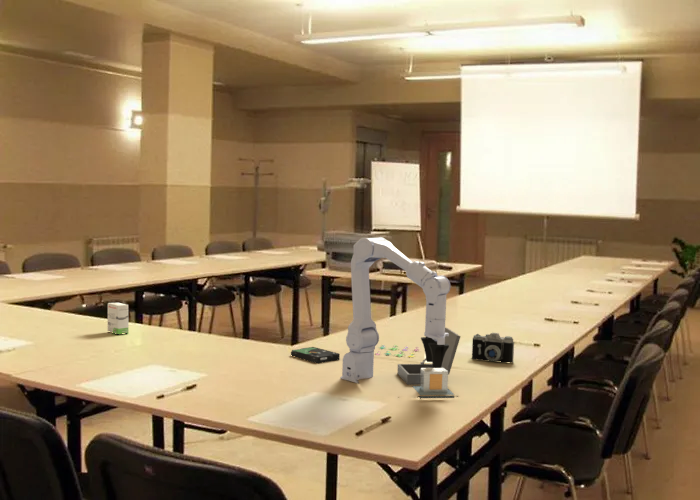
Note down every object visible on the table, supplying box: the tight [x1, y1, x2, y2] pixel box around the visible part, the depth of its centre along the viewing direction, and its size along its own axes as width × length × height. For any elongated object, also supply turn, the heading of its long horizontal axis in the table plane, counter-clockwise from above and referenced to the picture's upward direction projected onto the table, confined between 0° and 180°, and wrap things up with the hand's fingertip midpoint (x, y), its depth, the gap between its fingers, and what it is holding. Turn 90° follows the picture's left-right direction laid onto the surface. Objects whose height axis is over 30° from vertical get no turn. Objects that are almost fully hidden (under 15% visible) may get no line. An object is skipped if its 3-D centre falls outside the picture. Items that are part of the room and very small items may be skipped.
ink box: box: [107, 302, 129, 334], centre depth 300 cm, size 9×5×12 cm, turn 45°
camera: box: [471, 332, 515, 363], centre depth 267 cm, size 15×7×10 cm, turn 65°
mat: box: [412, 385, 455, 399], centre depth 221 cm, size 10×10×1 cm
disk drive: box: [290, 346, 340, 364], centre depth 265 cm, size 10×3×15 cm
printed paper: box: [375, 344, 433, 364], centre depth 279 cm, size 30×30×2 cm
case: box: [397, 327, 461, 386], centre depth 235 cm, size 16×15×16 cm
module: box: [419, 368, 449, 392], centre depth 220 cm, size 7×5×6 cm
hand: (433, 364), depth 220 cm, fingers open, 7 cm apart
